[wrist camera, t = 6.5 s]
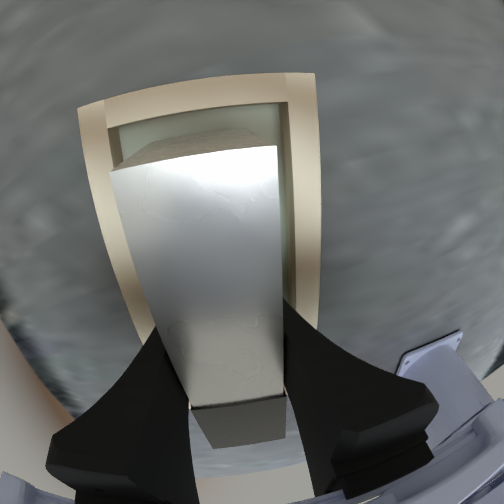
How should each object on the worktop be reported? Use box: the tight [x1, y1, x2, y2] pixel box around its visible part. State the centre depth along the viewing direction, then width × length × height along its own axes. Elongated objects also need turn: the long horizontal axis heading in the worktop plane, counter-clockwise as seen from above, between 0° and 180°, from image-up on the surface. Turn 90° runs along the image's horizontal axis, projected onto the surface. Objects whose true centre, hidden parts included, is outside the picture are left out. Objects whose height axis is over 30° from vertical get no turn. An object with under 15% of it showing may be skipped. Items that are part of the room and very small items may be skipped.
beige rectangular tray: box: [77, 73, 321, 409], centre depth 14 cm, size 18×9×2 cm, turn 5°
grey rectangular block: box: [109, 128, 287, 449], centre depth 11 cm, size 13×4×5 cm, turn 5°
